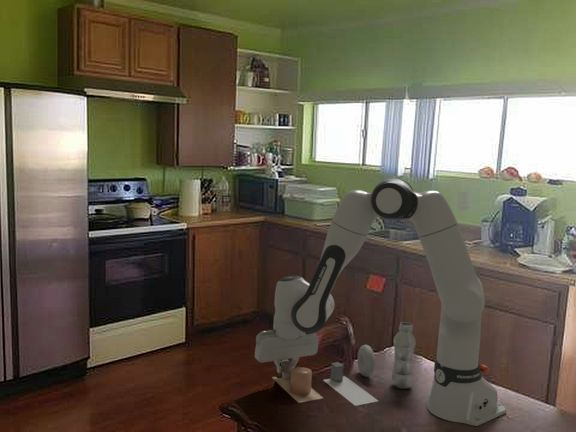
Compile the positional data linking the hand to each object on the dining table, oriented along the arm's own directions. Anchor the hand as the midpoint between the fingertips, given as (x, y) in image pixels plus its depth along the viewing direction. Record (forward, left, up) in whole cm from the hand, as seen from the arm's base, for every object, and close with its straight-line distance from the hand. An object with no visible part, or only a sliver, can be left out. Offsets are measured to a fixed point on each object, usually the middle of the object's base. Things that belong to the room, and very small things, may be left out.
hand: (285, 371), depth 169 cm
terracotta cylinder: (0, +10, -2) cm, 10 cm away
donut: (-26, +5, -3) cm, 27 cm away
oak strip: (0, +7, -3) cm, 8 cm away
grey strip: (-14, +15, -3) cm, 21 cm away
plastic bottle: (-32, +16, -3) cm, 36 cm away
